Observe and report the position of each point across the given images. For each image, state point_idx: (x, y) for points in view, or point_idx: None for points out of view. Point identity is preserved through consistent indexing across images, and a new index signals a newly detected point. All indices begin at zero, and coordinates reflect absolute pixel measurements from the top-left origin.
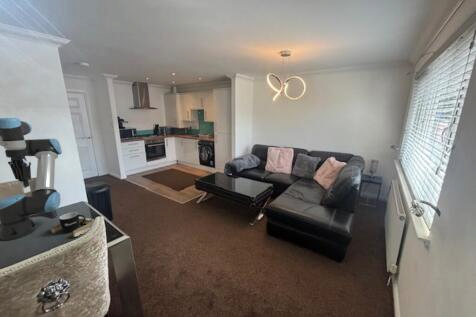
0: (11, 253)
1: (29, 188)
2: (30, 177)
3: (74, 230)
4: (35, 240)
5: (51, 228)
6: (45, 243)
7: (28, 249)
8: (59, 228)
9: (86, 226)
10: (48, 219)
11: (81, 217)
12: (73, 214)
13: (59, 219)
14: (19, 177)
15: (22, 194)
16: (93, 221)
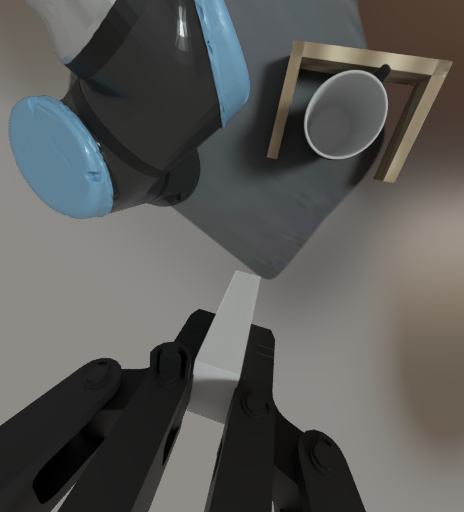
0: (246, 252)
1: (256, 296)
2: (354, 498)
3: (349, 138)
4: (252, 200)
5: (269, 157)
6: (297, 212)
7: (273, 238)
8: (282, 136)
9: (418, 129)
10: None
11: (343, 49)
12: (339, 80)
13: (317, 154)
14: (159, 474)
15: (50, 111)
16: (439, 82)
